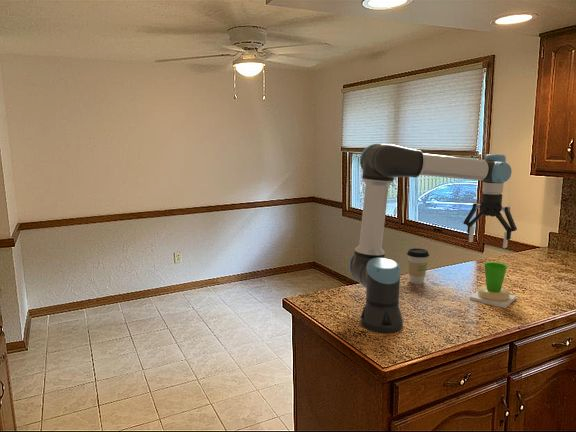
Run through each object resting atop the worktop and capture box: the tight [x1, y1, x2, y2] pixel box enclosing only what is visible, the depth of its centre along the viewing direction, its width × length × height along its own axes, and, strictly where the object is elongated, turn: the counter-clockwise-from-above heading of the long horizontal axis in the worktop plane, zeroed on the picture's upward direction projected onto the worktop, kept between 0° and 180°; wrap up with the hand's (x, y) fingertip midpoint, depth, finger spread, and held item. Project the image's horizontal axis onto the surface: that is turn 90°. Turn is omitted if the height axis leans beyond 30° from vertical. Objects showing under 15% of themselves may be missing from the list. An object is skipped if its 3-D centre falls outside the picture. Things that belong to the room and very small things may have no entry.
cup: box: [483, 261, 508, 293], centre depth 184 cm, size 9×9×11 cm
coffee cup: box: [406, 248, 430, 285], centre depth 207 cm, size 10×10×15 cm
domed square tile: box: [469, 285, 517, 309], centre depth 185 cm, size 14×14×4 cm
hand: (487, 244), depth 182 cm, fingers open, 13 cm apart
